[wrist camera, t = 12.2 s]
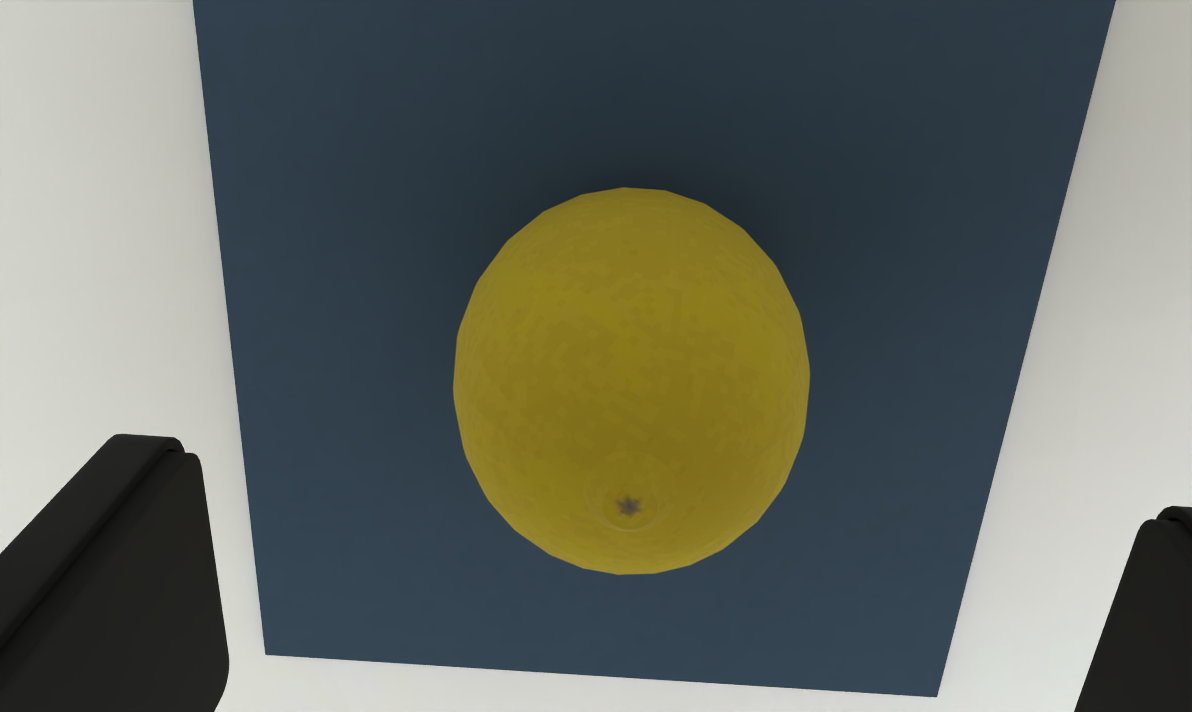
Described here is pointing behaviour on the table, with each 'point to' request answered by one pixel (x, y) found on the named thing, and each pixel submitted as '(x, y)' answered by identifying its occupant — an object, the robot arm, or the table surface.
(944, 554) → the mat
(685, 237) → the lemon
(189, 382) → the table surface
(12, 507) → the table surface
